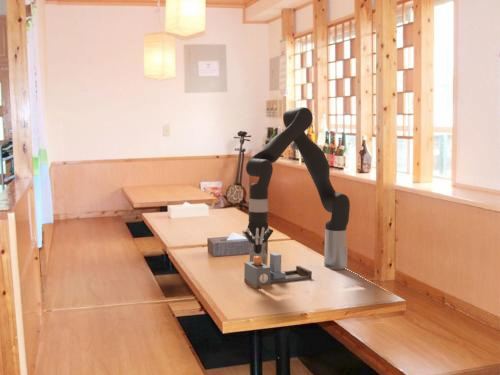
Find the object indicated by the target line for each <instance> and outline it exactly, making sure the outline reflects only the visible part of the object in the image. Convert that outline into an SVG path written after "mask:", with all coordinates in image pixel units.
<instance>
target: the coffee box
mask: <svg viewBox="0 0 500 375" xmlns="http://www.w3.org/2000/svg"><path fill="white" fill-rule="evenodd" d="M265 233H266V232H265ZM265 233H264V234H265ZM250 236H251V237H252V234H251V235H250ZM252 239H253V237H252ZM268 247H269V239H268V240H267V241H266V242H264V243H262V251H261V252H260V254H256V253H255V252H254V244H253V243H251V242H249V262H253V258H254V256H261V257H262V263H263V264H265V265H267V266H268V258H269V257H268V252H269V250H268V249H269V248H268Z"/></svg>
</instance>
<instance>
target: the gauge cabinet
mask: <svg viewBox="0 0 500 375" xmlns="http://www.w3.org/2000/svg"><path fill="white" fill-rule="evenodd" d="M270 271H271V267H270V265H268V264H267V265H265V264H263V263H262V264H261V265H253V262H250V261H249V262H248V261H246V262H244V272H243V273H244V278H245V279H246V280H248V281H250V282H251V283H253V284H255V285H258V286H265V285H271V284H270ZM264 284H265V285H264Z"/></svg>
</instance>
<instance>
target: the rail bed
mask: <svg viewBox="0 0 500 375" xmlns="http://www.w3.org/2000/svg"><path fill="white" fill-rule="evenodd" d="M295 270H297V274H287V275H286V277H285V278H291V277H300V276H309V279H306V280H305V281H308V280H313V279H312V277H313V276H312V273H313V271H311V270H309V269H307V268H305V267H303V266H301V265H295ZM243 280H244V281H243V282H244V283H245V282H246V284H247V285H249V286H251V287H252V288H254V289H255V288H256V289H255V290H260V289H261V290H262V289H263V287H262V286H261V285H255V284H253V283H251V282H250V281H248V280H246V279H245V278H244V279H243ZM298 281H301V280H297V281H296V282H298ZM289 282H292V281H289ZM289 282H288V283H289ZM280 283H281V284H283V282H280ZM280 283H279V284H280ZM271 284H273V285H274V284H275V283H271ZM271 284H270V285H271ZM265 285H266V284H264V285H263V286H265Z"/></svg>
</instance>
